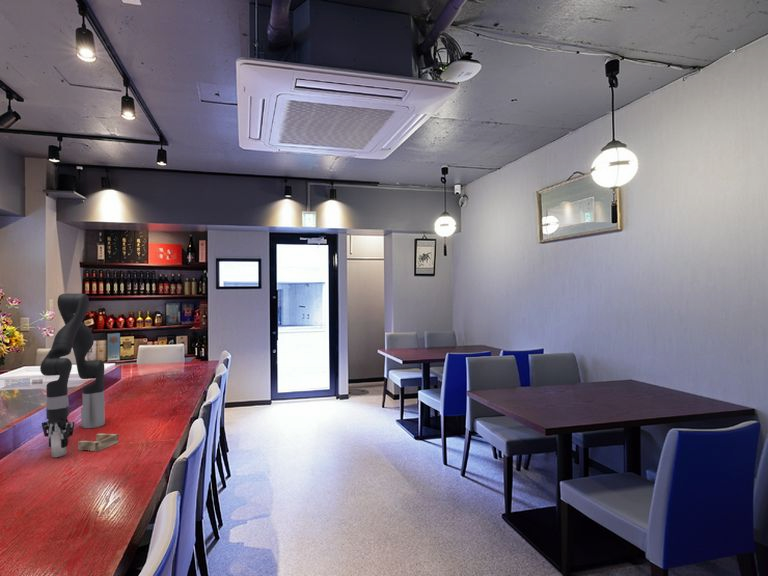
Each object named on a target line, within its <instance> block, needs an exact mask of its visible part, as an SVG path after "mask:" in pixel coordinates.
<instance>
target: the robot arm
mask: <svg viewBox="0 0 768 576" xmlns="http://www.w3.org/2000/svg"><path fill="white" fill-rule="evenodd" d="M89 306H90V300H89V296H88V294H85V293H61V294H60V295H59V296H58V297H57V307H58V311H59V314H60V316H61V318H62V320H63V323H64V326H61V329H59V330H58V331H57V333H56V334H55V335H54V339H53V342H52V345H51V348H50V350H49V351H48V353H47V354H46V356H45V357H44V359H43V360H42V361H41V364H40V365H39V368H40V373H41V374H42V375H43V376H46V377H50V376H51V377H52V376H53V377H54V376H59V377H58V378H57V380H52V381H50V382H48V383H47V384H46V401H45V407H46V408H45V410H46V411H45V413H46V419H47V421H44V422H41V427H42V432H43V436H44V437H45V438H48V446H49V445H50V447H49V448H51V434H53V431H55V426H56V428H57V431H58V433H59V434H60V436H61V438H62V439H61V448H65V447H66V448H67V447H68V445H69V437H72V436H73V434H74V428H75V422H74V421H72V422H70V421H69V419H68V416H69V415H70V412H69V411H70V410H69V408H70V405H69V396H68V395H69V394H68V383H69V379H70V375H71V373H72V372H71V371H72V369H73V363H72V361H71V359H69V358H68V357H66V356H68V355H70V354H71V353H72V352H73V354H74V359H75V363H76V369H77V374H78V377H79V378H80V379H81V380H91V379H95V381H94V382H92V383H90V384H88V385H85V386H83V387H82V392H81V393H82V395H81V396H82V407H81V409H80V415H81V417H80V422H81V428H84V429H95V428H99V427H103V426H104V425H105V424H106V420H105V419H106V416H105V415H106V414H105V413H106V412H105V409H106V408H105V407H106V406H105V364H104V363H105V362H104V360H103V359H93V360H86V357H87V355H88V353H89V352H90V351H91V349H92V347H93V345H94V344H95V343H94V341H95V339H94V336H93V333H92V330H91V328H90V327H88V326H87V325H86V324H85V323H84V322H83V320H84V319H85V316H86V315H87V312H88V309H89ZM54 422H57V424H54ZM62 430H64V431H62ZM64 433H65V435H64Z"/></svg>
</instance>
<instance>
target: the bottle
mask: <svg viewBox="0 0 768 576" xmlns="http://www.w3.org/2000/svg"><path fill="white" fill-rule="evenodd" d="M54 424H57V422H54ZM62 431H64V430H62ZM64 435H65V433H64ZM61 439H62V438H61V436H60V434H59V433H58V431H57V428H56V426H55V431H53V434H51V447H50V453H51V455H50V456H51V457H52V458H58V457H63V456H65V455H66V454H67V447H65V448H61Z"/></svg>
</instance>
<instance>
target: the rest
mask: <svg viewBox="0 0 768 576" xmlns="http://www.w3.org/2000/svg"><path fill="white" fill-rule="evenodd" d="M95 437H96V438H95V439H96V440H95V441H94V440H80V441H78V442H77V448H78V449H77V450H78V451H83V450H88V451H87V452H100V451H102V450H104V449H106V448H109V447H112V446H113V445H115V444H118V443H119V433H97V434H95ZM89 450H90V451H89Z"/></svg>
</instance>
